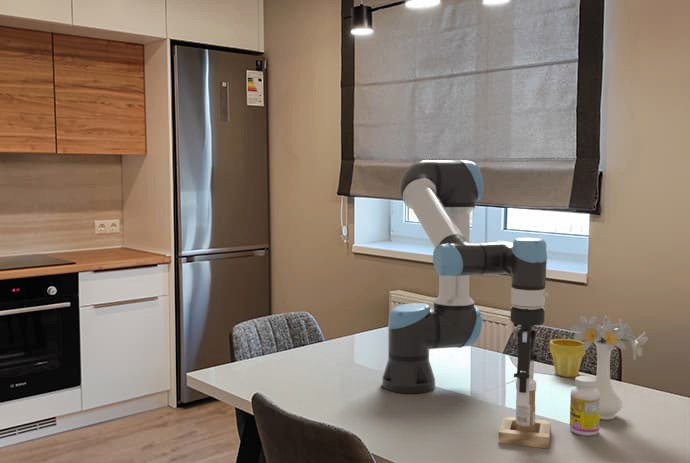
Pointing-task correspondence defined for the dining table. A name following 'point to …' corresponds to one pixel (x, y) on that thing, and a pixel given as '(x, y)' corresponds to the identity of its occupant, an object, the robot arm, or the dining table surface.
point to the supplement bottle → (585, 407)
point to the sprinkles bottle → (527, 411)
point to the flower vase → (607, 356)
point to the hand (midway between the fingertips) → (524, 396)
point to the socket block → (525, 433)
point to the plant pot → (567, 356)
